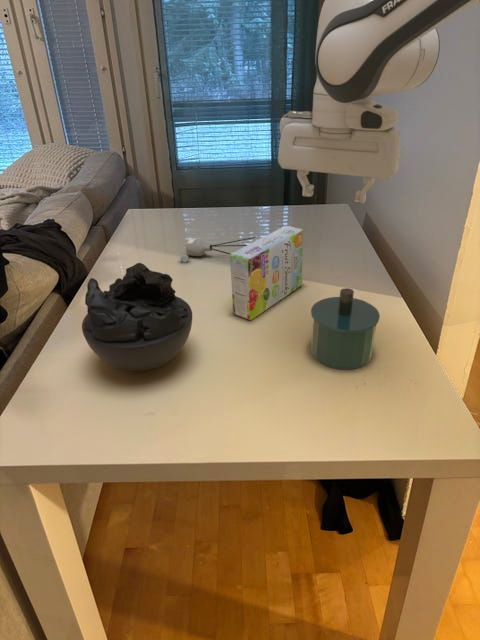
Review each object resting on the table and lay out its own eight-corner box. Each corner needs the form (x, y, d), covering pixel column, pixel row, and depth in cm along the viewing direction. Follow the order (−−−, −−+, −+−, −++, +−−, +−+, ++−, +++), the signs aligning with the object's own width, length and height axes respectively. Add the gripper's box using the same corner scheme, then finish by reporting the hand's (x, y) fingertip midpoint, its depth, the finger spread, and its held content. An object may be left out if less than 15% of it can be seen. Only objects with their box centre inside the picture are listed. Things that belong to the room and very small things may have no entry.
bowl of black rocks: (205, 335, 98) (198, 252, 88) (182, 398, 81) (171, 303, 71) (114, 330, 101) (98, 249, 91) (74, 390, 84) (49, 298, 74)
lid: (386, 310, 90) (390, 284, 87) (368, 342, 80) (372, 314, 78) (323, 296, 95) (325, 271, 92) (300, 325, 86) (301, 298, 83)
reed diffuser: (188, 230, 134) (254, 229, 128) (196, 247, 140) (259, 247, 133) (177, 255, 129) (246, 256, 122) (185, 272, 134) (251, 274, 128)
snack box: (283, 280, 119) (285, 224, 112) (302, 286, 116) (305, 228, 109) (231, 314, 105) (228, 252, 98) (250, 322, 102) (249, 258, 95)
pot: (377, 344, 94) (383, 307, 89) (361, 376, 85) (367, 337, 81) (323, 330, 99) (326, 295, 94) (302, 359, 90) (304, 322, 86)
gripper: (272, 112, 76) (271, 196, 83) (400, 118, 67) (387, 211, 75) (288, 107, 81) (285, 187, 88) (409, 113, 72) (396, 201, 79)
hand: (333, 198), depth 81 cm, fingers open, 8 cm apart
